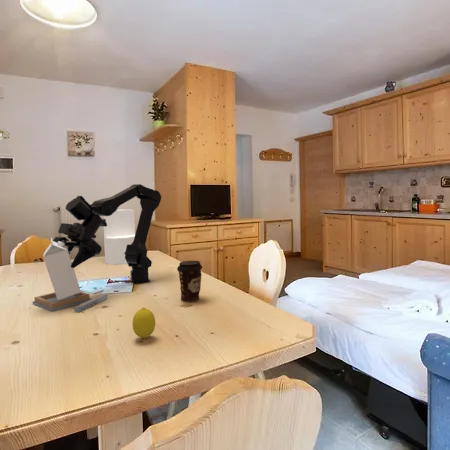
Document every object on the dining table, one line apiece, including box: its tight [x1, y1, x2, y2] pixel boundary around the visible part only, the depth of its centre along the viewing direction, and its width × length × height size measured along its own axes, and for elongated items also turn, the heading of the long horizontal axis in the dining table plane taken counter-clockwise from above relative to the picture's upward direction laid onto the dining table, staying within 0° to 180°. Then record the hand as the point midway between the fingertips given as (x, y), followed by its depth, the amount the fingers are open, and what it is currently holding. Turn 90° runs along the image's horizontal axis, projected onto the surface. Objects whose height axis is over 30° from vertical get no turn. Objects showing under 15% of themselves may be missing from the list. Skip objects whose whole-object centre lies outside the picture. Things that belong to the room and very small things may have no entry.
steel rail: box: [73, 293, 108, 313], centre depth 112 cm, size 14×2×2 cm, turn 164°
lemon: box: [132, 307, 156, 340], centre depth 84 cm, size 6×6×8 cm
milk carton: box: [42, 237, 82, 300], centre depth 111 cm, size 7×7×19 cm
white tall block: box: [102, 208, 136, 266], centre depth 184 cm, size 17×17×28 cm
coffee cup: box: [176, 260, 203, 303], centre depth 115 cm, size 9×8×13 cm
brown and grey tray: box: [31, 291, 93, 313], centre depth 115 cm, size 14×14×2 cm
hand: (62, 266), depth 111 cm, fingers closed on milk carton, 9 cm apart
